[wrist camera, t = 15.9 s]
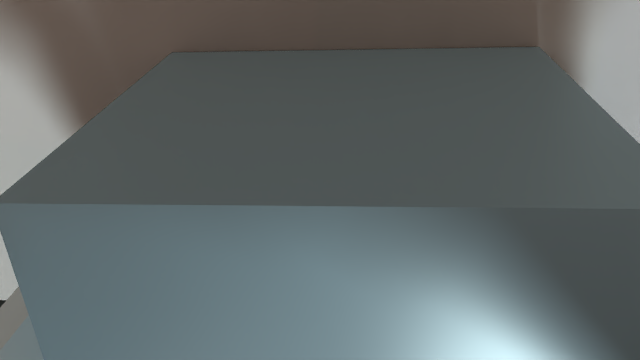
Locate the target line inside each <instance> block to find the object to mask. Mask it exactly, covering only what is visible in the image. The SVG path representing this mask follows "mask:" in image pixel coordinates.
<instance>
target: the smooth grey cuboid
mask: <svg viewBox="0 0 640 360" xmlns="http://www.w3.org/2000/svg"><path fill="white" fill-rule="evenodd" d="M0 231H1V234H2V237H3V240H4V243H5V246H6V249H7V252H8V255H9V258H10V261H11V264H12V267H13V270H14V273H15V276H16V279H17V282H18V285H19V288H20V291H21V294H22V297H23V300H24V303H25V305H26V308H27V311H28V314H29V317H30V320H31V323H32V326H33V329H34V332H35V335H36V338H37V341H38V344H39V347H40V350H41V353H42V356H43V359H44V360H640V144H639V143H638V142H637V141H636V140H635V139H634V138H633V137H632V136H631V135H630V134H629V133H628V132H627V131H626V130H625V129H623V128H622V127H621V126H620V125H619V124H618V123H617V122H616V121H615V120H614V119H613V118H612V117H611V116H610V115H609V114H608V113H607V112H606V111H605V110H604V109H603V108H602V107H601V106H600V105H599V104H598V103H597V102H596V101H595V100H593V99H592V98H591V97H590V96H589V95H588V94H587V93H586V92H585V91H584V90H583V89H582V88H581V87H580V86H579V85H578V84H577V83H576V82H575V81H574V80H573V79H572V78H571V77H570V76H569V75H568V74H567V73H566V72H565V71H564V70H562V69H561V68H560V67H559V66H558V65H557V64H556V63H555V62H554V61H553V60H552V59H551V58H550V57H549V56H548V55H547V54H546V53H545V52H544V51H543V50H542V49H541V48H540V47H499V48H433V49H367V50H301V51H235V52H172V53H171V54H169V55H168V56H167V57H166V58H165V59H163V60H162V61H161V62H160V63H159V64H157V65H156V66H155V67H154V68H153V69H151V70H150V71H149V72H148V73H147V74H145V75H144V76H143V77H142V78H141V79H139V80H138V81H137V82H136V83H135V84H133V85H132V86H131V87H130V88H129V89H127V90H126V91H125V92H124V93H123V94H121V95H120V96H119V97H118V98H117V99H115V100H114V101H113V102H112V103H111V104H109V105H108V106H107V107H106V108H105V109H103V110H102V111H101V112H100V113H99V114H97V115H96V116H95V117H94V118H93V119H91V120H90V121H89V122H88V123H87V124H85V125H84V126H83V127H82V128H81V129H79V130H78V131H77V132H76V133H75V134H73V135H72V136H71V137H70V138H69V139H67V140H66V141H65V142H64V143H63V144H61V145H60V146H59V147H58V148H57V149H56V150H54V151H53V152H52V153H51V154H50V155H48V156H47V157H46V158H45V159H44V160H42V161H41V162H40V163H39V164H38V165H36V166H35V167H34V168H33V169H32V170H30V171H29V172H28V173H27V174H26V175H24V176H23V177H22V178H21V179H20V180H18V181H17V182H16V183H15V184H14V185H12V186H11V187H10V188H9V189H8V190H6V191H5V192H4V193H3V194H2V195H0Z"/></svg>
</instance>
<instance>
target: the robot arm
mask: <svg viewBox="0 0 640 360" xmlns="http://www.w3.org/2000/svg"><path fill="white" fill-rule="evenodd" d="M0 360H44V359H43V356H42V353H41V350H40V347H39V344H38V341H37V338H36V335H35V332H34V329H33V326H32V323H31V320H30V317H29V314H28V311H27V308H26V305H25V303H24V300H23V297H22V294H21V291H20V288H19V287H18V288H17V289H16V290H15V291H14V292H13V294H12V295H11V296H10V297H9V298H8V299H7V300H0Z"/></svg>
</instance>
